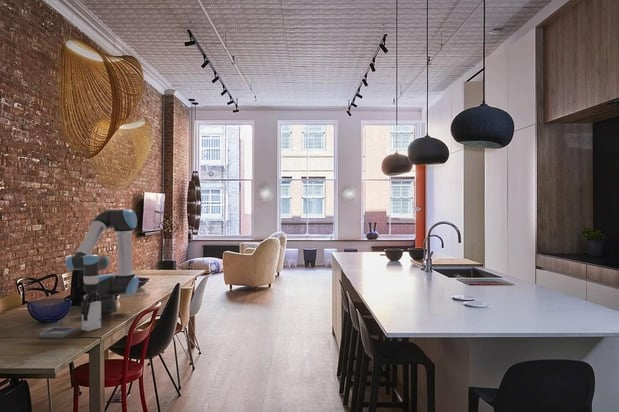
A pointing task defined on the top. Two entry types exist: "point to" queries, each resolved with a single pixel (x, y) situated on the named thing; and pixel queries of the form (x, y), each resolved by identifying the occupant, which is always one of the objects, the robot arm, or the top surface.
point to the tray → (57, 332)
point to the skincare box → (93, 316)
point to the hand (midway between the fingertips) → (91, 324)
